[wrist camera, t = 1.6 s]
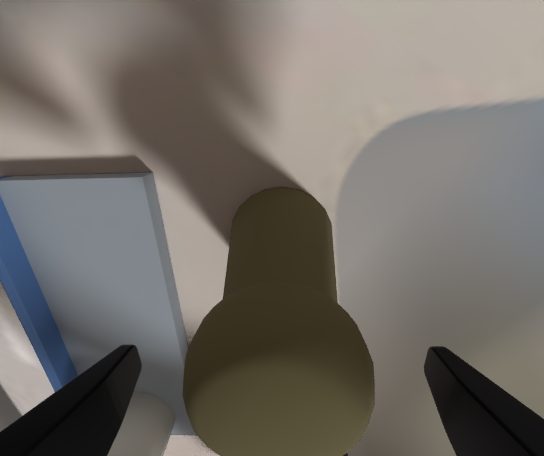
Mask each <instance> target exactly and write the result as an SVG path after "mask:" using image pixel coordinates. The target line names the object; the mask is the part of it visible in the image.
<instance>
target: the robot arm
mask: <svg viewBox="0 0 544 456" xmlns="http://www.w3.org/2000/svg"><path fill="white" fill-rule="evenodd" d="M141 368H142V363H141V359H140V356H139V352H138V349H137V347H136V345H133V344H124V345H121V346H119V347H118V348H116V349H115V350H113V351H112V352H111V353H109V354H108V355H106V356H105V357H104V358H102V359H101V360H100V361H98V362H97V363H95V364H94V365H93V366H91V367H90V368H88V369H87V370H86V371H84V372H83V373H81V374H80V375H79V376H77V377H76V378H75V379H73V380H72V381H70V382H69V383H68V384H66V385H65V386H63V387H62V388H61V389H59V390H58V391H56V392H55V393H54V394H52V395H51V396H50V397H48V398H47V399H45V400H44V401H43V402H41V403H40V404H38V405H37V406H36V407H34V408H33V409H31V410H30V411H29V412H27V413H26V414H25V415H23V416H22V417H20V418H19V419H18V420H16V421H15V422H13V423H12V424H11V425H9V426H8V427H6V428H5V429H4V430H2V431H1V432H0V456H107V455H108V453H109V451H110V449H111V447H112V444H113V442H114V440H115V438H116V436H117V434H118V431H119V429H120V427H121V425H122V422H123V419H124V417H125V414H126V411H127V409H128V406H129V403H130V400H131V398H132V395H133V392H134V389H135V386H136V384H137V381H138V378H139V375H140V372H141ZM424 373H425V376H426V379H427V382H428V384H429V387H430V390H431V393H432V396H433V398H434V401H435V404H436V407H437V410H438V412H439V415H440V418H441V420H442V423H443V426H444V429H445V431H446V433H447V436H448V438H449V440H450V442H451V444H452V446H453V449H454V451H455V453H456V455H457V456H544V419H543V418H542V417H540V416H539V415H537V414H536V413H535V412H533V411H532V410H531V409H529V408H528V407H526V406H525V405H524V404H522V403H521V402H520V401H518V400H517V399H516V398H514V397H513V396H511V395H510V394H509V393H507V392H506V391H505V390H503V389H502V388H500V387H499V386H498V385H496V384H495V383H494V382H492V381H491V380H490V379H488V378H487V377H485V376H484V375H483V374H481V373H480V372H479V371H477V370H476V369H475V368H473V367H472V366H470V365H469V364H468V363H466V362H465V361H464V360H462V359H461V358H460V357H458V356H457V355H455V354H454V353H453V352H451V351H450V350H449V349H447V348H445V347H438V346H435V347H434V346H433V347H430V348H429V349H428V352H427V356H426V360H425V364H424ZM343 456H348V454H347V453H346V454H345V455H343Z"/></svg>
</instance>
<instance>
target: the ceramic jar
mask: <svg viewBox="0 0 544 456" xmlns="http://www.w3.org/2000/svg"><path fill="white" fill-rule="evenodd" d="M175 420H176V416H175V413H174V411H173V409H172V408H171V406H170V405H169V404H168V403H166V402H165V401H164V400H162V399H161V398H159V397H157V396H154V395H151V394H148V393H143V392H133V395H132V398H131V400H130V403H129V406H128V409H127V411H126V414H125V417H124V419H123V422H122V425H121V427H120V429H119V431H118V434H117V436H116V438H115V440H114V442H113V444H112V447H111V449H110V451H109V453H108V455H107V456H163V455H164V452H165V449H166V447H167V444H168V441H169V438H170V435H171V432H172V430H173V427H174V424H175Z"/></svg>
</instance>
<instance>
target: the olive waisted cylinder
mask: <svg viewBox="0 0 544 456" xmlns="http://www.w3.org/2000/svg"><path fill="white" fill-rule="evenodd" d="M182 396H183V400H184V404H185V408H186V412H187V415H188V418H189V420H190V423H191V425H192V428H193V430H194V432H195V433H196V434H197V435H198V437H199V438H200V439H201V440H202V441H203V442H204V443H205V444H206V445H207V446H208V447H209V448H210V449H211V450H213V451H214V452H216V453H217V454H219V455H220V456H343V455H345V454H346V453H347V452H348V451H349V450H350V449H352V448H353V447H354V446H355V445H356V444H357V443H358V442H359V441H360V440H361V438H362V436H363V434H364V432H365V430H366V428H367V426H368V424H369V421H370V417H371V414H372V411H373V408H374V404H375V403H374V400H375V397H374V368H373V361H372V359H371V356H370V354H369V351H368V348H367V345H366V343H365V341H364V339H363V337H362V335H361V333H360V331H359V329H358V327H357V325H356V324H355V322H354V321H353V319H352V318H351V317H350V315H349V314H348V313H347V312H346V311H345V310H344V309H343V308H342V307H341V306H340V305H339V304H338V303H337V290H336V277H335V264H334V251H333V238H332V225H331V221H330V219H329V217H328V215H327V212H326V210H325V209H324V208H323V207H322V205H321V204H320V203H319V202H318V201H317V200H316V199H315V198H314V197H312V196H310V195H308V194H306V193H304V192H302V191H301V190H297V189H292V188H286V187H278V188H271V189H265V190H263V191H261V192H259V193H257V194H255V195H252V196H251V197H250V198H249V199H247V200H246V201H245V202H244V203H243V204H242V205H241V206H240V207H239V209H238V211H237V213H236V215H235V217H234V219H233V222H232V230H231V238H230V246H229V254H228V262H227V270H226V278H225V286H224V294H223V300H222V301H220V302H219V303H218V304H217V305H216V306H214V307H213V308H212V310H211V311H210V312H209V313H208V314H207V315H206V317H205V318H204V319H203V321H202V323H201V324H200V326H199V328H198V330H197V332H196V334H195V335H194V337H193V339H192V342H191V344H190V346H189V349H188V351H187V353H186V357H185V366H184V376H183V393H182Z"/></svg>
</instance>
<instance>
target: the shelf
mask: <svg viewBox="0 0 544 456" xmlns="http://www.w3.org/2000/svg"><path fill="white" fill-rule="evenodd" d="M0 281H1V283H2V285H3V287H4V289H5V291H6V293H7V295H8V298H9V300H10V302H11V304H12V306H13V308H14V310H15V312H16V314H17V316H18V318H19V320H20V322H21V324H22V326H23V328H24V330H25V332H26V334H27V336H28V338H29V340H30V342H31V344H32V346H33V348H34V350H35V352H36V354H37V356H38V358H39V360H40V362H41V365H42V367H43V369H44V371H45V373H46V375H47V377H48V379H49V381H50V383H51V385H52V387H53V389H54V391H55V392H56V391H58V390H59V389H61V388H62V387H63V386H65V385H66V384H68V383H69V382H70V381H72V380H73V379H75V378H76V377H77V376H79V375H80V374H81V373H83V372H84V371H86V370H87V369H88V368H90V367H91V366H93V365H94V364H95V363H97V362H98V361H100V360H101V359H102V358H104V357H105V356H106V355H108V354H109V353H111V352H112V351H113V350H115V349H116V348H118V347H119V346H121V345H124V344H133V345H136V347H137V349H138V352H139V356H140V359H141V363H142V368H141V372H140V375H139V378H138V381H137V384H136V386H135V389H134V392H143V393H148V394H151V395H154V396H157V397H159V398H161V399H162V400H164V401H165V402H166V403H168V404H169V405H170V406H171V408H172V409H173V411H174V413H175V416H176V420H175V424H174V427H173V430H172V432H171V435H197V434H196V433H195V432H194V430H193V428H192V425H191V423H190V420H189V418H188V415H187V412H186V408H185V404H184V400H183V396H182V393H183V376H184V366H185V357H186V353H187V351H188V344H187V339H186V334H185V330H184V325H183V320H182V315H181V310H180V305H179V300H178V295H177V290H176V285H175V280H174V275H173V270H172V265H171V260H170V255H169V250H168V245H167V240H166V235H165V230H164V225H163V220H162V215H161V210H160V205H159V201H158V196H157V191H156V186H155V181H154V176H153V172H152V173H113V174H74V175H35V176H2V177H0Z"/></svg>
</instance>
